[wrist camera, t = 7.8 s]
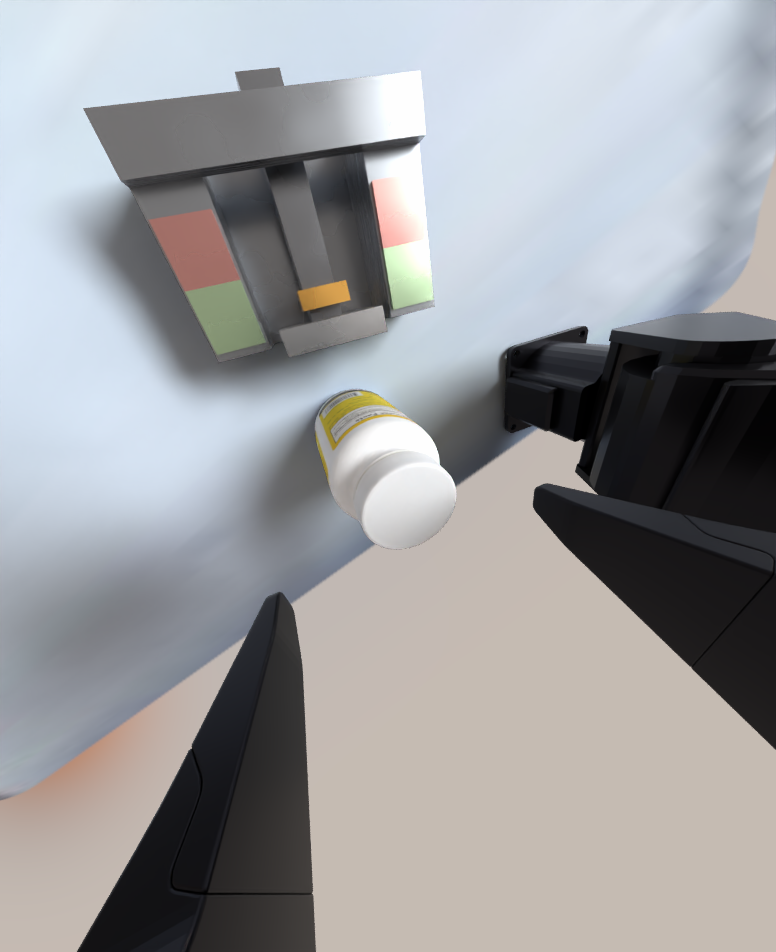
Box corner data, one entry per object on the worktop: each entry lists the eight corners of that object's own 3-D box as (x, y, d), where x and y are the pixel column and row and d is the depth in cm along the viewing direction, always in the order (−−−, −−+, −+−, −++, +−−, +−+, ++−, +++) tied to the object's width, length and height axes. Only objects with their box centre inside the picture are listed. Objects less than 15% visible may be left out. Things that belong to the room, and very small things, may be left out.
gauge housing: (382, 136, 12) (419, 65, 9) (407, 308, 16) (440, 306, 13) (145, 171, 11) (80, 102, 7) (232, 353, 15) (216, 364, 11)
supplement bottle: (376, 470, 21) (435, 568, 13) (304, 454, 18) (319, 560, 10) (405, 402, 19) (496, 464, 11) (328, 373, 16) (370, 425, 8)
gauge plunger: (318, 100, 11) (330, 22, 8) (368, 329, 15) (387, 331, 12) (200, 114, 10) (167, 35, 7) (288, 350, 14) (289, 357, 12)
